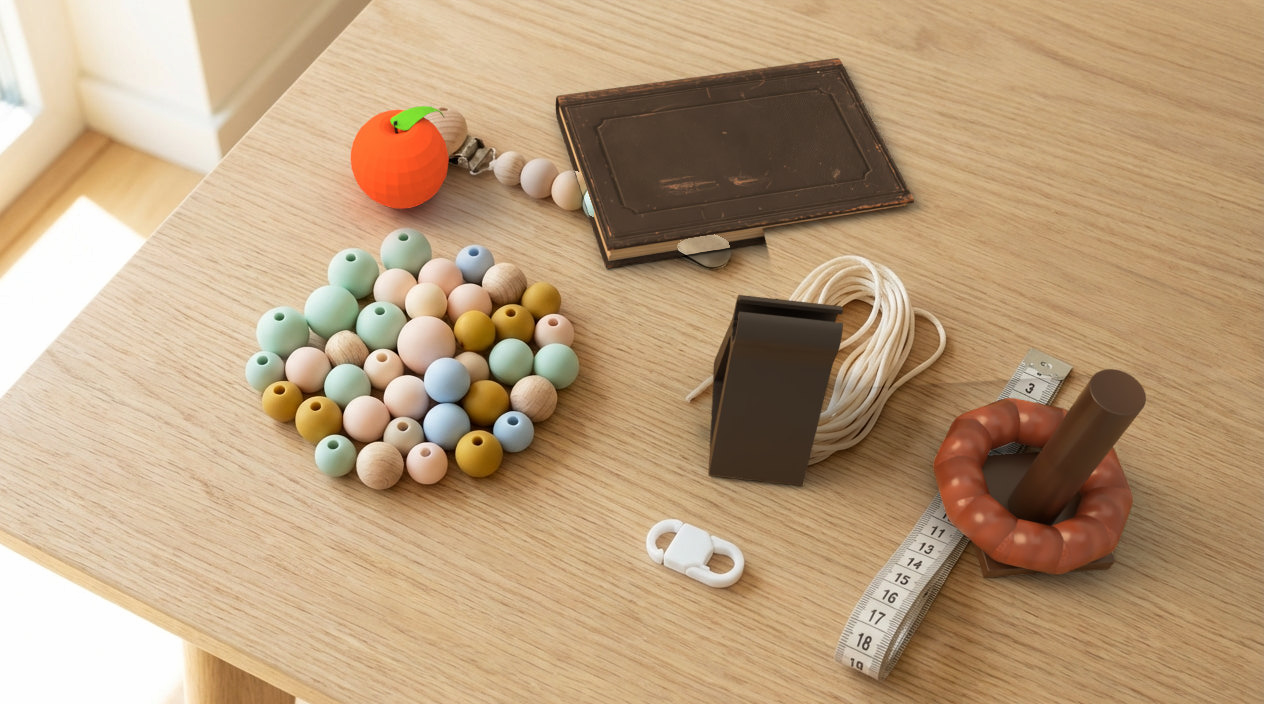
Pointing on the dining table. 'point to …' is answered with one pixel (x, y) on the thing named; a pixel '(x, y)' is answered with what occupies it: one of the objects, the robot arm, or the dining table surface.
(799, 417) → the phone stand
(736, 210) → the hardcover book
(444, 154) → the clementine
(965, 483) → the ring
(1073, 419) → the peg
